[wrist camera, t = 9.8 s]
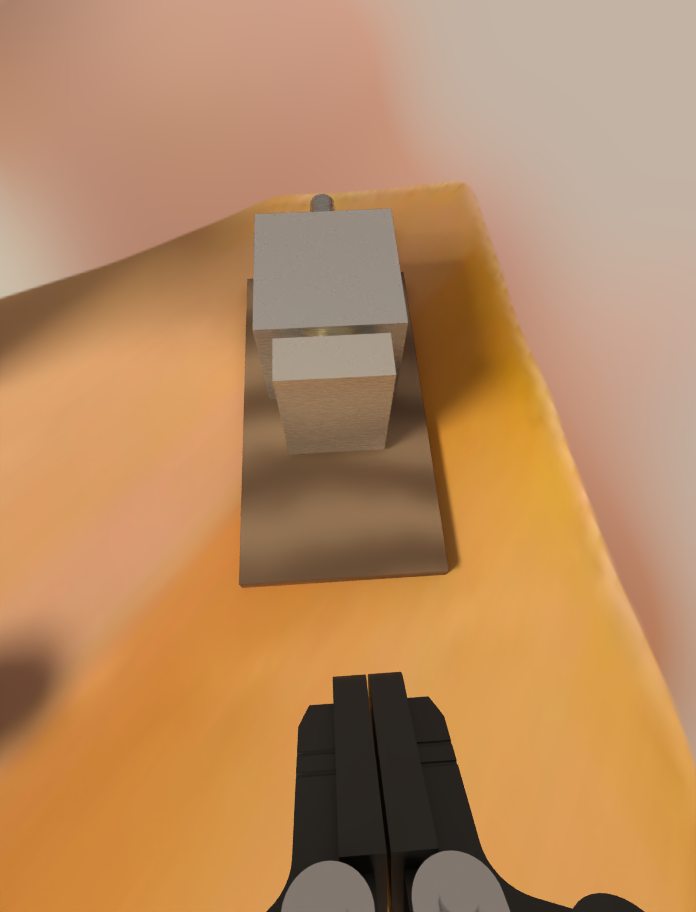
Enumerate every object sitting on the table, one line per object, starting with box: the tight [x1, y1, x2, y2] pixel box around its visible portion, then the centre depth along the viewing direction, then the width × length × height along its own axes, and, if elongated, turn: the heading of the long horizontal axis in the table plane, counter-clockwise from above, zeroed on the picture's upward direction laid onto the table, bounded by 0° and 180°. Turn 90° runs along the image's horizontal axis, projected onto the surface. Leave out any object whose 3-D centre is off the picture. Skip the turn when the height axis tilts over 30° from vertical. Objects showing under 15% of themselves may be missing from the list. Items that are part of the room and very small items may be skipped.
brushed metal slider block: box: [272, 194, 396, 455], centre depth 37 cm, size 21×7×10 cm, turn 4°
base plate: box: [239, 272, 449, 588], centre depth 40 cm, size 27×14×1 cm, turn 4°
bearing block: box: [253, 209, 408, 399], centre depth 38 cm, size 11×10×8 cm
